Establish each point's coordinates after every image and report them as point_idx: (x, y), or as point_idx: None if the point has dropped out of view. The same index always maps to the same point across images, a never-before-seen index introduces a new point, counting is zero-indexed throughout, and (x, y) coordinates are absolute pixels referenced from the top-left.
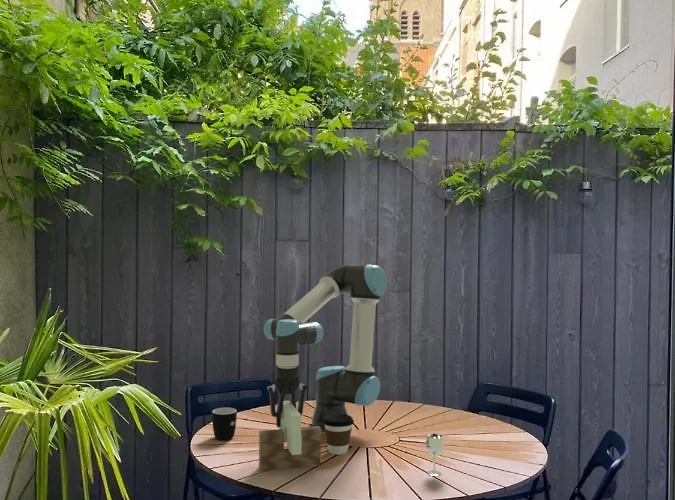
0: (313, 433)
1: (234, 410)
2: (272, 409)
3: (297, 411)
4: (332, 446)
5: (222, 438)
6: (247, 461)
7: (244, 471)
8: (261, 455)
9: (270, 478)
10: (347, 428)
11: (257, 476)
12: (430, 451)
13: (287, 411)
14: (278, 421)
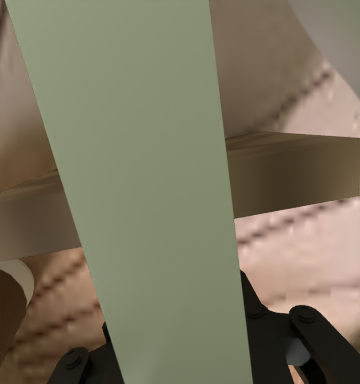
0: (24, 193)
1: None
2: (353, 354)
3: (39, 65)
4: (5, 271)
5: None
6: (295, 218)
7: (314, 134)
8: (286, 134)
9: (236, 59)
10: None
11: (277, 84)
12: None
13: (223, 169)
14: (245, 292)
